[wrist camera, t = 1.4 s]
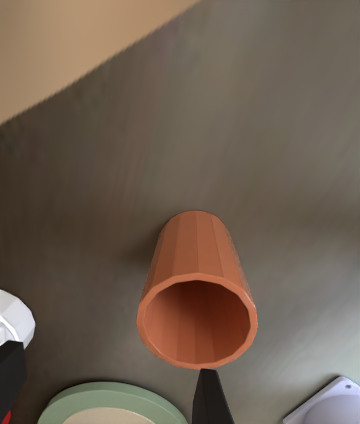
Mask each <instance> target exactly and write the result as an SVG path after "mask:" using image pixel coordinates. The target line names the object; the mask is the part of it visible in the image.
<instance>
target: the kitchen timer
mask: <svg viewBox="0 0 360 424" xmlns="http://www.w3.org/2000/svg"><path fill="white" fill-rule="evenodd" d="M10 417H11V412H10V411H9V412H8V414H7V415H6V417H5V419H4V420H3V422H2V423H1V424H8V423H9V420H10Z"/></svg>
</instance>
